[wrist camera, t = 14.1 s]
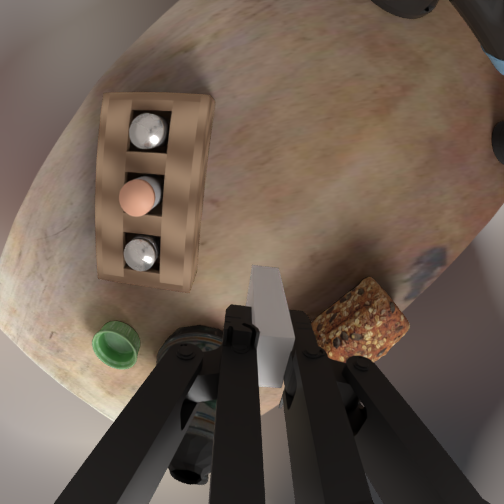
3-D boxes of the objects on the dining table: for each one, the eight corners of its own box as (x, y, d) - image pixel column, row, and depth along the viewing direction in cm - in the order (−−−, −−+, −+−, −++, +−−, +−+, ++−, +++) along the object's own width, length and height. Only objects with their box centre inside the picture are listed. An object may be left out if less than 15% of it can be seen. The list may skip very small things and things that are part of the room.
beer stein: (215, 308, 51) (197, 430, 27) (270, 379, 57) (280, 490, 33) (143, 343, 53) (100, 450, 30) (202, 405, 59) (189, 506, 36)
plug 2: (139, 224, 44) (123, 238, 38) (167, 227, 44) (154, 242, 38) (138, 251, 45) (124, 268, 39) (165, 255, 45) (154, 273, 39)
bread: (368, 269, 49) (391, 298, 40) (396, 306, 52) (420, 337, 42) (285, 337, 53) (292, 375, 44) (320, 366, 56) (331, 402, 47)
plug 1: (147, 116, 38) (131, 112, 32) (177, 117, 38) (165, 114, 32) (144, 146, 40) (127, 148, 33) (173, 148, 40) (161, 150, 34)
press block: (123, 98, 38) (103, 92, 32) (215, 101, 39) (209, 94, 33) (115, 260, 47) (97, 278, 41) (196, 272, 48) (189, 293, 42)
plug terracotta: (137, 172, 39) (119, 178, 33) (167, 174, 39) (154, 181, 33) (135, 203, 41) (118, 214, 35) (165, 206, 41) (152, 218, 35)
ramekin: (149, 332, 52) (143, 347, 48) (135, 362, 55) (129, 376, 51) (106, 309, 51) (97, 322, 47) (96, 341, 53) (87, 354, 49)
